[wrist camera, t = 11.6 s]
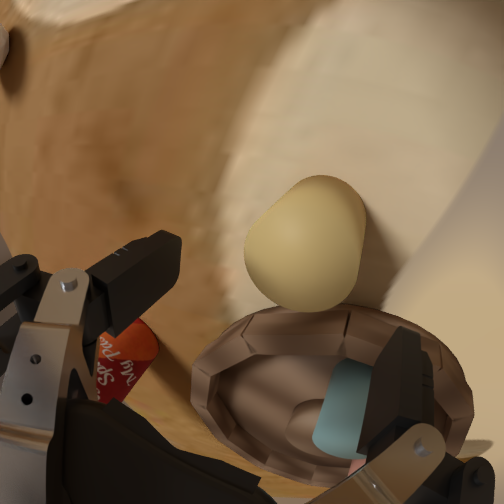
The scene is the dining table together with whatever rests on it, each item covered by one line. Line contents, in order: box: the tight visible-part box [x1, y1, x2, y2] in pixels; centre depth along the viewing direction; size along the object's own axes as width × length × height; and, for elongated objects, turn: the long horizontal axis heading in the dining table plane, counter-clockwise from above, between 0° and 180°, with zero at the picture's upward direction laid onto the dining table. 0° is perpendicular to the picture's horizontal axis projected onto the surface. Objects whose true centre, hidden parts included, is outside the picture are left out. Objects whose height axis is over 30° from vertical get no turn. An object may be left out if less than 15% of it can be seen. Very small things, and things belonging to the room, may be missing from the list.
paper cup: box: [96, 318, 159, 404], centre depth 22 cm, size 8×8×14 cm
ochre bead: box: [244, 175, 366, 312], centre depth 13 cm, size 4×4×5 cm
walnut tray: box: [190, 303, 474, 488], centre depth 20 cm, size 22×22×3 cm
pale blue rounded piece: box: [312, 358, 373, 459], centre depth 16 cm, size 4×4×5 cm
